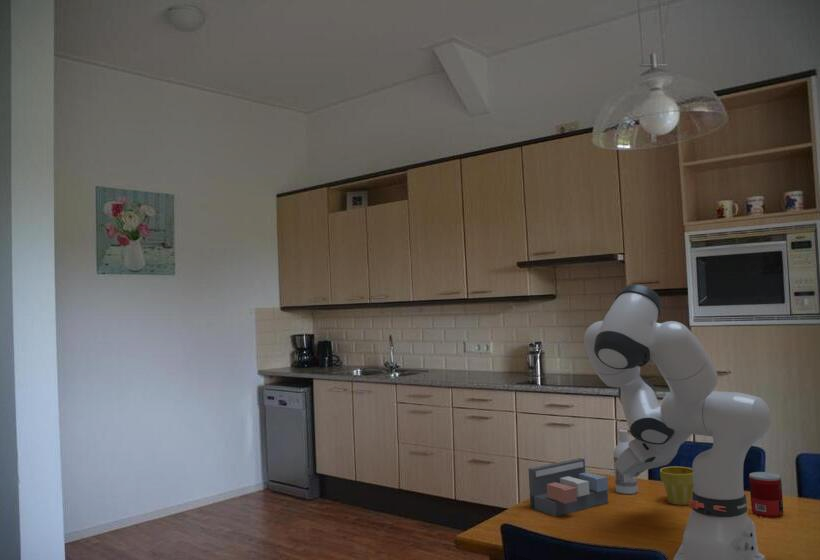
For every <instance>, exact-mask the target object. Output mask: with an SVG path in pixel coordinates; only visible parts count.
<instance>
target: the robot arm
mask: <svg viewBox="0 0 820 560" xmlns="http://www.w3.org/2000/svg"><path fill="white" fill-rule="evenodd" d="M661 310H662V299H661V298H660V296H659V294H658V293H657V292H656V291H655V290H653V289H652V288H651V287H648V286H646V285H643V284H637V283H636V284H629V285H626V286H625V287H624V288H622V289H621V290H620V291H619V293H618V294H617V296H616V297H615V299H614V301H613V303H612V305H611V307H610V308H609V310H608V311H607V313H606V314H605V316H604V318H603V320H598V321H595V322H593V323H592V324H591V325H589V326H588V327H587V329H586V330H585V332H584V335H583V343H584V347H585V351H586V355H587V357H588V360H589V362H590V364H591V366H592V368H593V370H594V371H595V373H596V374H597V376H598V377H599V378H600V380H601V381H602V382H603V383H604V384H605V385H606V386H607V387H611V388H618V390H617V396H618V399H619V402H620V404H621V407H622V411H623V413H624V416H625V420H626V423H627V427H628V431H629V432H630V435H631V436H632V437H633V438H634V439H632V440H630V441H628V442H629V444H628V446H629V447H628V448H627V449H626V450H625V451H624V452H623V453H622V454H621V455H620V457H619V458H618V459H617V461H616V462H615V467H616V468H617V470H618V471H619V473H620V474H621V475H625V474H628V475H629V476H630V477H631V478H632V477H636V476H637V477H639V476H640V475H641V474H642V473H643V472H645V471H648V470H652V469H655V468H659V467H660V468H661V467H663V466H667V465H669V464H670V463H671V462H672V461H673V459H674V458H675V457H676V456H677V454H678V450H679V448H680V446H681V445H682V444H684V443H685V442H687V440H688V439H689V438H690V437H691V436H692V435H696V436H697V435H698V436H706V437H707V436H708V437H712V440H713V441H712V446H711V448H709V449H706V450H704V451H702V452H700V453H698V455H696V456H695V457H694V458H693V461H692V464H691V466H692V467H691V468H692V469H693V483H694V491H693V494H692V500H691V499H690V500H689V504H688V507H689V508H690V509H692V510H691V511H690V512H689V513H690V514H689V516H688V519H687V523H686V525H685V527H684V532H683V535H682V543H681V544H680V546H679V548H678V550H677V552H676V553H675V555H674V557H673V559H672V560H766V556H765V555H764V554H762V553H761V552H759V547H758V539H757V537H758V536H757V531H756V530H757V529H756V525H755V523H754V521H753V520H752V519H751V518H750V517H749V515H748V513H747V511H748V500H747V495H746V494H745V493H744V492H745V491H744V490H745V489H744V465H745V464H744V462H745V459H746V456H747V454H748V451H749V450H750V448H751V447H752V446H753V445H754V444H755V443H756V442H757V441H758V440H760V439H761V438H763V437H765V435H767V433H768V432H769V430H770V428H771V424H772V411H771V410H770V407H769V405H768V403H766V401H765V400H764V399H763V398H762V397H759V396H756V395H752V394H748V393H743V392H735V391H717V390H716V388H717V385H718V381H719V377H718V375H719V374H718V372H717V369H716V368H715V366H714V364H713V362H712V360H711V359H710V357H709V355H708V353H707V351H706V350H705V348H704V346H703V345H702V344H701V342H700V341H699V340H698V338H697V337H696V336H695V334H694V333H693V332H692V330H690V329H689V328H688V327H687V326H686V325H685V324H683V323H681V322H680V321H679V322H678V321H676V320H670V321H669V320H668V321H664V322H661V323H660V322H657V321H658V318H659V317H660V314H661ZM650 360H651V361H653V363H654V364H655V365H656V367H657V369H658V371H659V372H660V374H661V376H662V377H663V379H664V381H665V383H666V384H667V386H668V388H669V390H670V391H669V392H668V393H666V394H665V396H664V397H663V398H662V400H661V403H659V401H658V398H657V394H656V389H655V387H654V385H653V384H652V383H651V382H649V381H648V380H647V379H645V378H644V377H643V376H641V375H640V374H641V367H644V366H646V365H647V364H648V363H649V362H650Z"/></svg>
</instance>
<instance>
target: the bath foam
mask: <svg viewBox="0 0 820 560" xmlns="http://www.w3.org/2000/svg"><path fill="white" fill-rule="evenodd" d="M628 431H629V430H628V429H618V443H617V444H616V445H615V448H614V449H613V450H614V451H613V468H614V469H613V470H614V484H615V485H614V486H615V491H616V493H619V494H621V495H634V494H637V493H638V492H639V490H638V489H639V486H638V476H636V477H632V478H631V477H630V476H629V475H628V474H625V475H621V474H620V473H619V471H618V470H617V468H616V467H615V462H616V461H617V459H618V458H619V457H620V455H621V454H622V453H623V452H624V451H625V450H626V449H627V448H628V447H629V446H628V444H629V442H630V441H629V432H628Z"/></svg>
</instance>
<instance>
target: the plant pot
mask: <svg viewBox="0 0 820 560" xmlns="http://www.w3.org/2000/svg"><path fill="white" fill-rule="evenodd" d="M659 476H660V481H661V482H662V484H663V486H664V490H665V493H666V496H667V500H668V503H670V504H673V505H676V506H687V505H688V506H689V500H690V499H691V500H692V494H693V491H694V483H693V468H692V467H687V466H686V467H685V466H678V465H675V466H674V465H673V466H666V467H662V468H661V467H660V469H659Z"/></svg>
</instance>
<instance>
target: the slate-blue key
mask: <svg viewBox="0 0 820 560" xmlns="http://www.w3.org/2000/svg"><path fill="white" fill-rule="evenodd" d="M578 476H579V479H581V480H585V481H589V490H593V491H595V492H600V491H604V490H609V485H608V484H609V483H608V476H603V475H599V474H595V473H592V472H591V473H590V472H588V471H585V473H581V474H578Z"/></svg>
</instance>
